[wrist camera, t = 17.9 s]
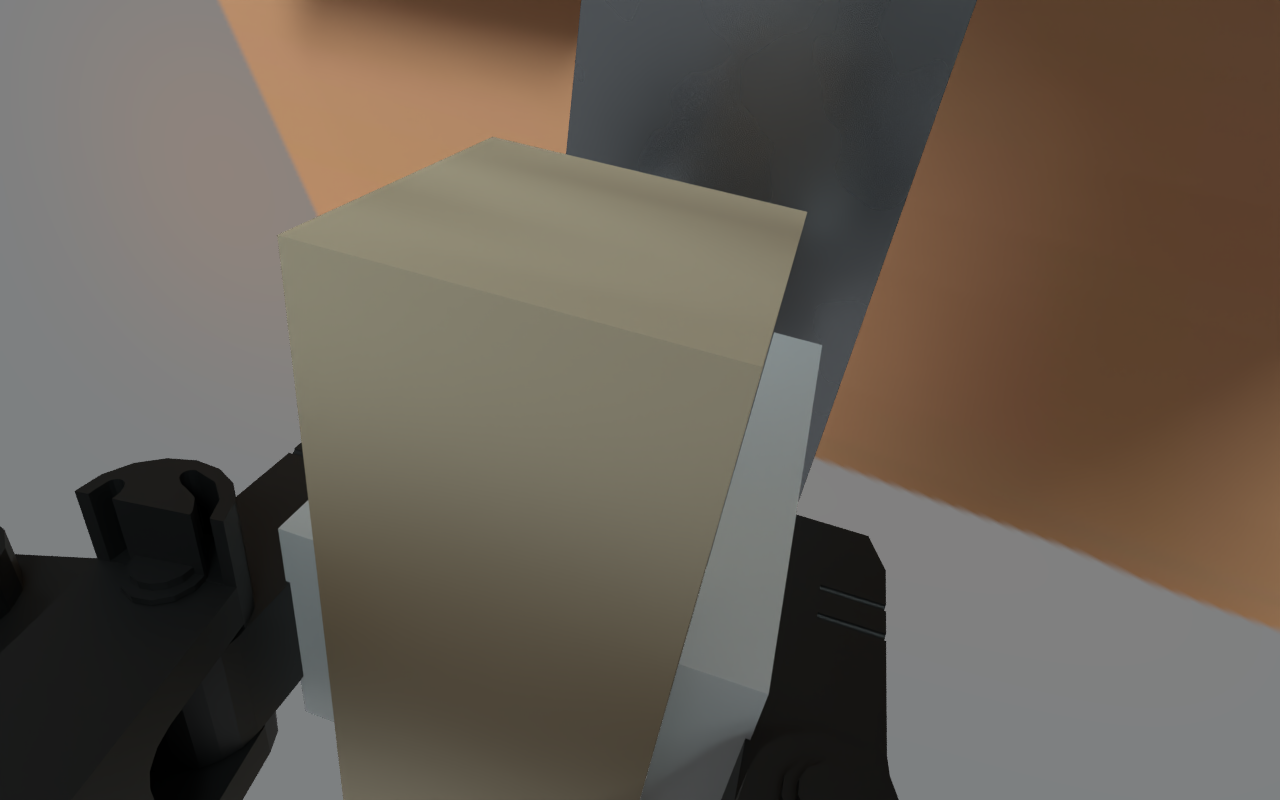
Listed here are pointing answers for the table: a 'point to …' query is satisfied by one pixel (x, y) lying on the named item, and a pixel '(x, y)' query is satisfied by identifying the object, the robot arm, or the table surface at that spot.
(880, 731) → the robot arm
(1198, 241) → the table surface
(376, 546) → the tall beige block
